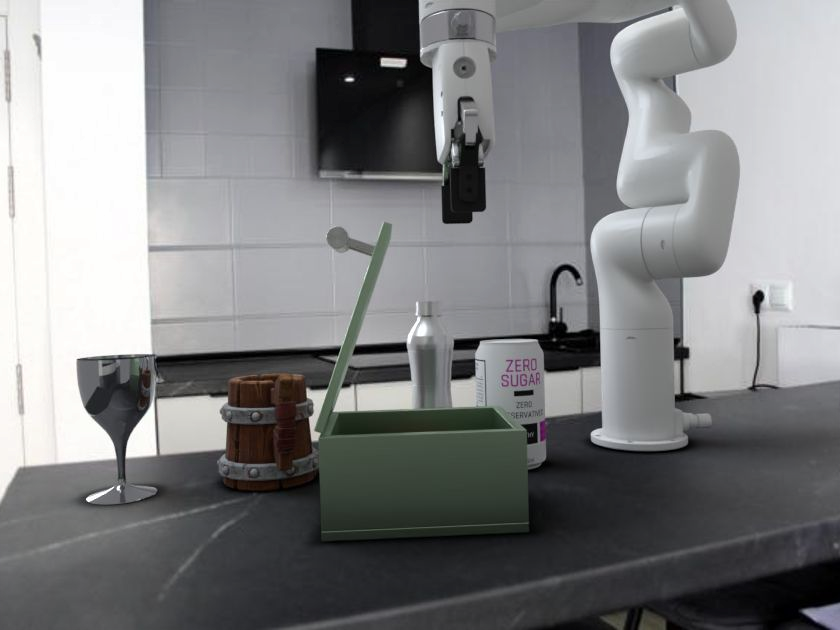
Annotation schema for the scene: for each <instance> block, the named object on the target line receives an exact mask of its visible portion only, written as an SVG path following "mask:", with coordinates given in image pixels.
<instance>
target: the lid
mask: <svg viewBox="0 0 840 630" xmlns="http://www.w3.org/2000/svg"><path fill="white" fill-rule="evenodd" d="M392 229H393V224H392V223H391V222H387V221H383V222H382V224H381V228H380V230H379V233H378V237H377V239H376V242H375V245H373V244H370V243H368V242H364V241H361V240H359V239H356V238H353V237H351V236H350V235H349V232H348V231H347V230H346V229H345V228H344V227H343V226H339V225H335V226H332V227H330V228H329V229H328V230H327V233H326V234H325V235H326V236H325V240H326V242H327V244H328V245H329V247H331V249H332V250H333V251H334V252H336V253H339V254H344V253H347V252H348V251H349V250H351V251H353V252H356V253H360V254H362V255H365V256H369V257H371V258H370V261H369V263H368V267H367V268H366V269H367V270H366V273H365V275H364V278H363V282H362V285H361V287H360V290H359V294H358V297H357V300H356V302H355V306H354V308H353V312H352V314H351V318H350V321H349V324H348V326H347V330H346V333H345V336H344V339H343V342H342V344H341V348H340V351H339V353H338V357H337V360H336V362H335V366H334V368H333V371H332V375H331V378H330V381H329V384H328V386H327V389H326V393H325V395H324V399H323V402H322V405H321V407H320V410H319V413H318V417H317V420H316V423H315V425H314V429H313V431H314V432H316V433H319V434H321V433H323V432H324V430H325V428H326V425H327V423H328V421H329V419H330V417H331V414H332V412H334V410H335V408H336V405H337V402H338V399H339V396H340V392H341V389H342V387H343V383H344V380H345V377H346V375H347V371H348V369H349V365H350V362H351V360H352V356H353V354H354V350H355V348H356V344H357V341H358V338H359V335H360V332H361V329H362V327H363V323H364V321H365V318H366V315H367V312H368V308H369V305H370V302H371V299H372V296H373V294H374V291H375V288H376V285H377V281H378V278H379V276H380V272H381V269H382V267H383V264H384V261H385V258H386V254H387V252H388V248H389V246H390V242H391V240H392V232H393V231H392Z"/></svg>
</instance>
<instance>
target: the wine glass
mask: <svg viewBox="0 0 840 630" xmlns="http://www.w3.org/2000/svg"><path fill="white" fill-rule="evenodd" d="M75 364H76V381H77V387H78V392H79V396H80V400H81V403H82V406H83V408H84V411H85V412H86V414H87V415H88V416H89V417H90V418H91V419H92V420H93V421H94V422H95V423H96V424H97V425H98V426H99V427H100V428H101V429H102V430H104V432H105V433H106V434H107V435H108V437H109V438H110V440H111V441H112V444H113V448H114V452H115V459H116V465H117V482H116V484H115V485H114V486H112V487H110V488H105V489H102V490H99V491H96V492H93V493H91V494H90V495H88V496H87V497H86V499H85V501H86V502H87V503H89V504H92V505H103V506H105V505H106V506H107V505H109V506H110V505H121V504H127V503H133V502H138V501H142V500H145V499H148V498H150V497H153V496H155V495H156V494H157V493H158V489H157V488H156V487H154V486H151V485H139V484H137V485H136V484H131V483H129V482H128V481H127V476H126V475H127V474H126V458H127V448H128V443H129V440H130V437H131V435H132V433H133V431H134V430H135V428H137V426H138V425H139V424H140V423H141V421H142V419H143V418H144V417H145V416H146V415H147V413H148V412H149V410H150V409H151V407H152V405H153V402H154V398H155V394H156V393H155V392H156V389H157V388H156V387H157V378H158V377H157V375H158V373H157V372H158V369H157V368H158V365H157V354H153V353H151V354H150V353H133V354H132V353H131V354H130V353H129V354H128V353H127V354H126V353H125V354H110V355H109V354H108V355H96V356H88V357H87V356H86V357H80V358H76V363H75Z"/></svg>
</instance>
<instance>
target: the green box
mask: <svg viewBox="0 0 840 630" xmlns="http://www.w3.org/2000/svg"><path fill="white" fill-rule="evenodd" d="M317 439H318V451H319V467H318V469H319V471H318V472H319V473H318V474H319V496H320V497H319V499H320V500H319V501H320V531H321V533H320V534H321V542H322V543H324V542H347V541H349V542H351V541H369V540H390V539H391V540H393V539H413V538H415V539H416V538H434V537H437V538H438V537H459V536H460V537H461V536H480V535H501V534H502V535H504V534H522V533H523V534H525V533H526V534H527V533H529V532H530V516H529V515H530V510H529V506H530V505H529V471H528V470H529V469H528V464H527V430H526V429H525V428H524V427H523V426H521V425H520V424H519V423H518V422H517V421H516V420H515V419H514V418H513V417H512V416H510V415H509V414H508V413H507V412H506V411H505V410H504V409H503V408H502V407H501V406H481V407H477V406H458V407H457V406H456V407H453V408H425V409H412V408H400V409H372V410H347V411H346V410H342V411H333V412H332V414H331V417H330V419H329V421H328V423H327V425H326V428H325V430H324V432H323V433H319V436H318V438H317Z"/></svg>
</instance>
